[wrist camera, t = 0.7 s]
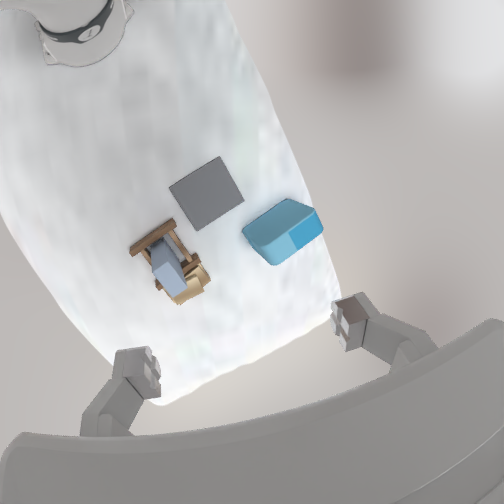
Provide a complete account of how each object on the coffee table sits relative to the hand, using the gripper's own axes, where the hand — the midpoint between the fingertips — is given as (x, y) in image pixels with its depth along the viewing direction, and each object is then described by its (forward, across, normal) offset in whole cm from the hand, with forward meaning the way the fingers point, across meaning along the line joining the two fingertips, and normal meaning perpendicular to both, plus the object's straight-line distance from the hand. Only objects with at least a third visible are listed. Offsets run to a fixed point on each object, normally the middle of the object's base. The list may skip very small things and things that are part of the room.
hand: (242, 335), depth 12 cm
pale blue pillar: (+41, +11, +18) cm, 46 cm away
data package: (+45, -11, +18) cm, 50 cm away
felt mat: (+44, 0, +9) cm, 45 cm away
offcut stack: (+40, +9, +25) cm, 48 cm away
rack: (+41, +11, +18) cm, 46 cm away
